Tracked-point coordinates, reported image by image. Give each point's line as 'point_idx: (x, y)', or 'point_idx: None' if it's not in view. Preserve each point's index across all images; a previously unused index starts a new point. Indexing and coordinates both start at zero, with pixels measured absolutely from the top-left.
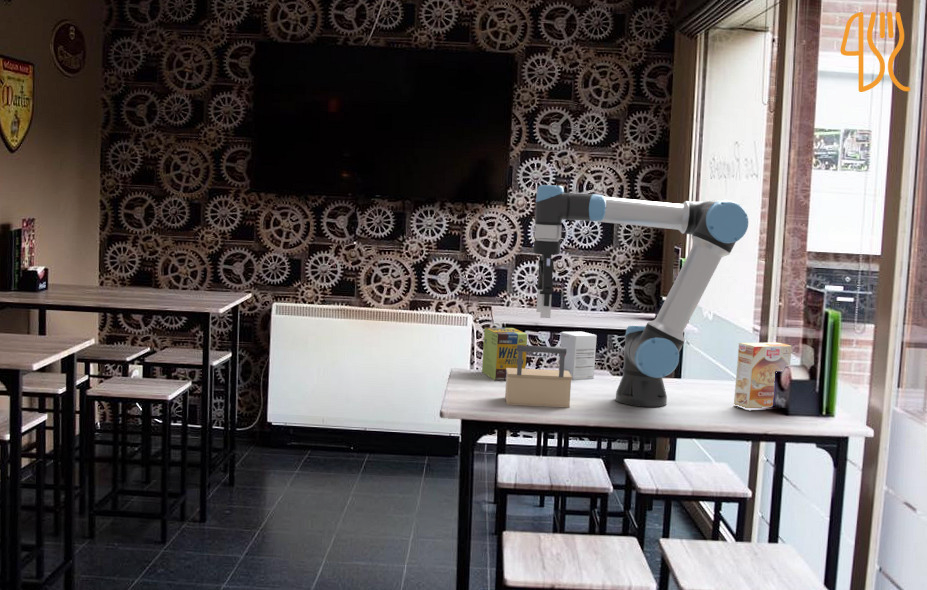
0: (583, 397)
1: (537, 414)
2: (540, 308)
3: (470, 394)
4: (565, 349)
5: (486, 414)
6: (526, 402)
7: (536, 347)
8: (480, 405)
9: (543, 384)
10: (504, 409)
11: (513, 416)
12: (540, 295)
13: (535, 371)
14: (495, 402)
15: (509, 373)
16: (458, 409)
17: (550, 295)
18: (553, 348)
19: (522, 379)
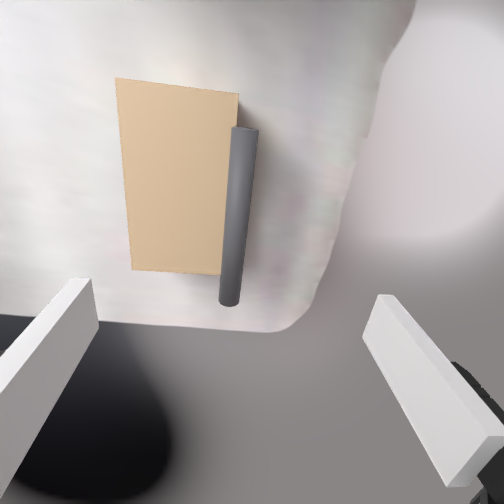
0: (78, 6)
1: (312, 193)
2: (86, 326)
3: (140, 295)
4: (256, 135)
5: (312, 283)
6: None
7: (242, 248)
8: None
9: None
10: (270, 250)
11: (328, 241)
12: (29, 418)
13: (166, 199)
14: None
15: (217, 271)
16: (276, 319)
17: (500, 434)
18: (250, 187)
19: None
